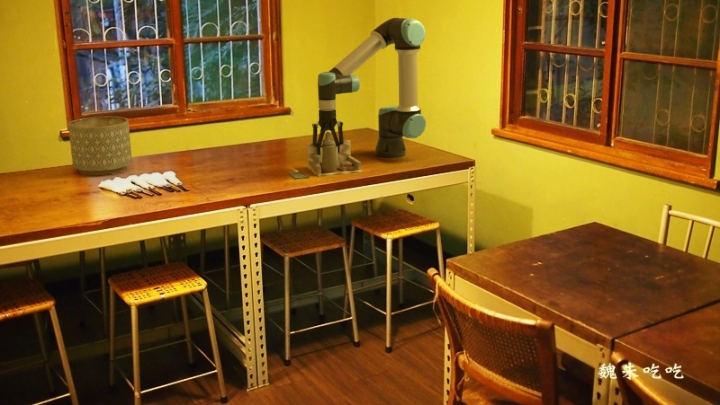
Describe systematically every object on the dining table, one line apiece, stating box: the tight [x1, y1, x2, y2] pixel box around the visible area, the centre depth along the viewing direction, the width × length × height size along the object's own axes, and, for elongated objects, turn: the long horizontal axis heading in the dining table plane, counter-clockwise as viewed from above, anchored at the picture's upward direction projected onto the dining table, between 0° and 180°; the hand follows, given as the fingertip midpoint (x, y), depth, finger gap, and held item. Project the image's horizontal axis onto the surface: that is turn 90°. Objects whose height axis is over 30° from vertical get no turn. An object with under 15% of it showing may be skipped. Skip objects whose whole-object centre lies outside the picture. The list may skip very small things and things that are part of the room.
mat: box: [287, 170, 311, 180], centre depth 346 cm, size 10×11×1 cm
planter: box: [67, 116, 133, 176], centre depth 354 cm, size 26×26×22 cm
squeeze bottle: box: [320, 131, 338, 174], centre depth 348 cm, size 8×8×18 cm
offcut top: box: [340, 161, 352, 168], centre depth 353 cm, size 4×5×2 cm
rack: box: [306, 139, 363, 178], centre depth 350 cm, size 20×16×12 cm
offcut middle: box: [338, 165, 355, 172], centre depth 353 cm, size 5×6×2 cm
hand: (328, 161), depth 349 cm, fingers closed on squeeze bottle, 6 cm apart
